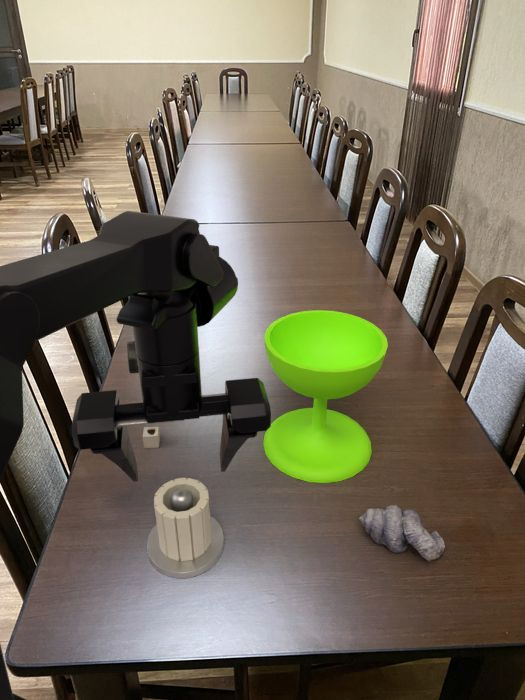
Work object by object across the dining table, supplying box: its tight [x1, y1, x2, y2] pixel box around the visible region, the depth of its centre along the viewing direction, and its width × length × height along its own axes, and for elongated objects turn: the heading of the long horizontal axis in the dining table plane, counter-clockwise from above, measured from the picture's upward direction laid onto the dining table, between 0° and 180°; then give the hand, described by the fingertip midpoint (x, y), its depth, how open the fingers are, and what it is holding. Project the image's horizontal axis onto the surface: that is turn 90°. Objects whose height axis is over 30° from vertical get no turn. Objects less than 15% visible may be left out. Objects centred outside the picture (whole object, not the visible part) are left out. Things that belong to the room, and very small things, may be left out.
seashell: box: [359, 504, 446, 562], centre depth 63 cm, size 5×5×10 cm
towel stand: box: [146, 488, 225, 579], centre depth 61 cm, size 9×9×9 cm
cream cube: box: [142, 426, 161, 449], centre depth 78 cm, size 2×2×2 cm
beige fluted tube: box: [153, 477, 211, 562], centre depth 61 cm, size 6×6×7 cm
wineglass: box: [262, 309, 389, 484], centre depth 75 cm, size 16×16×18 cm
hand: (179, 473), depth 58 cm, fingers open, 9 cm apart
